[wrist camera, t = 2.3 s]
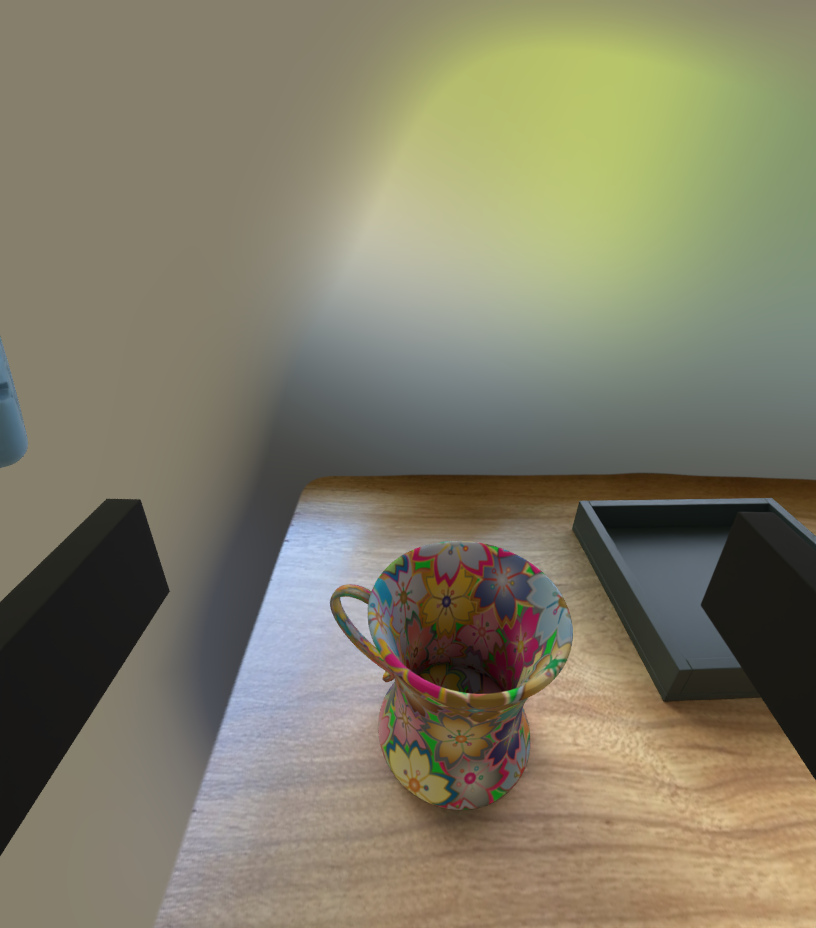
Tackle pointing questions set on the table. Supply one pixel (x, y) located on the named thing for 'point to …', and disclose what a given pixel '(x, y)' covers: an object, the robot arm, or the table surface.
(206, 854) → the table surface
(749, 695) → the tray
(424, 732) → the mug
